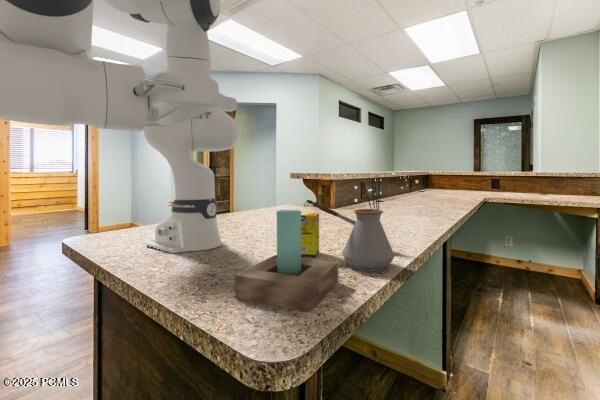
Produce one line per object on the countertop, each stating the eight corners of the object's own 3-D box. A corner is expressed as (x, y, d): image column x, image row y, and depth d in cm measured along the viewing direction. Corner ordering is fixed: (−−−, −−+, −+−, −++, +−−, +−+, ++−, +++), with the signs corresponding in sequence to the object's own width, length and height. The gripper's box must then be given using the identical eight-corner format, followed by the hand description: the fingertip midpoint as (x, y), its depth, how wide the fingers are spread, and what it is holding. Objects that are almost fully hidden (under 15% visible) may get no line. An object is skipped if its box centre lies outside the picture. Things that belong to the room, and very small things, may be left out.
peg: (274, 284, 55) (273, 212, 54) (281, 276, 59) (280, 209, 58) (298, 286, 54) (297, 213, 53) (303, 278, 58) (303, 210, 57)
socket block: (235, 297, 53) (234, 274, 53) (275, 273, 66) (275, 255, 65) (309, 312, 47) (309, 286, 47) (338, 282, 60) (338, 262, 59)
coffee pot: (396, 262, 73) (397, 199, 72) (390, 277, 63) (391, 204, 62) (313, 253, 82) (313, 197, 81) (295, 265, 71) (294, 201, 70)
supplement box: (316, 258, 78) (316, 215, 77) (293, 257, 79) (293, 214, 78) (319, 252, 83) (319, 212, 82) (298, 251, 85) (297, 211, 84)
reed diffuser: (381, 255, 79) (382, 178, 78) (355, 252, 83) (356, 178, 81) (390, 247, 88) (391, 177, 87) (366, 244, 92) (367, 177, 90)
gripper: (143, 50, 34) (253, 74, 42) (114, 90, 50) (198, 102, 58) (146, 108, 34) (254, 121, 43) (116, 129, 50) (199, 135, 59)
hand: (221, 110), depth 51 cm, fingers open, 8 cm apart
